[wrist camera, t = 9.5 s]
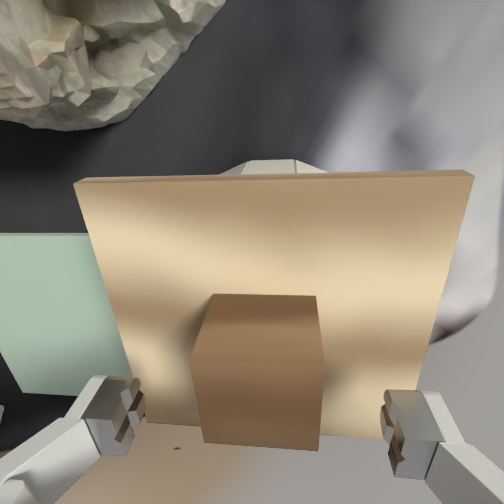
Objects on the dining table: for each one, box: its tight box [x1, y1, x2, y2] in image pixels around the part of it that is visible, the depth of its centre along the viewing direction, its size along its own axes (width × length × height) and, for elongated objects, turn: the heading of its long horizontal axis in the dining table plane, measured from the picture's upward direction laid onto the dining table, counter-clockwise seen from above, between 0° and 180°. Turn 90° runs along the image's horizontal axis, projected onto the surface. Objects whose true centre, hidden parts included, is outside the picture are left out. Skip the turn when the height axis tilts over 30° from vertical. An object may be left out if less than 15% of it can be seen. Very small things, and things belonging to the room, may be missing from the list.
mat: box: [0, 233, 133, 396], centre depth 23 cm, size 15×15×1 cm
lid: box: [73, 170, 475, 451], centre depth 12 cm, size 13×13×4 cm
